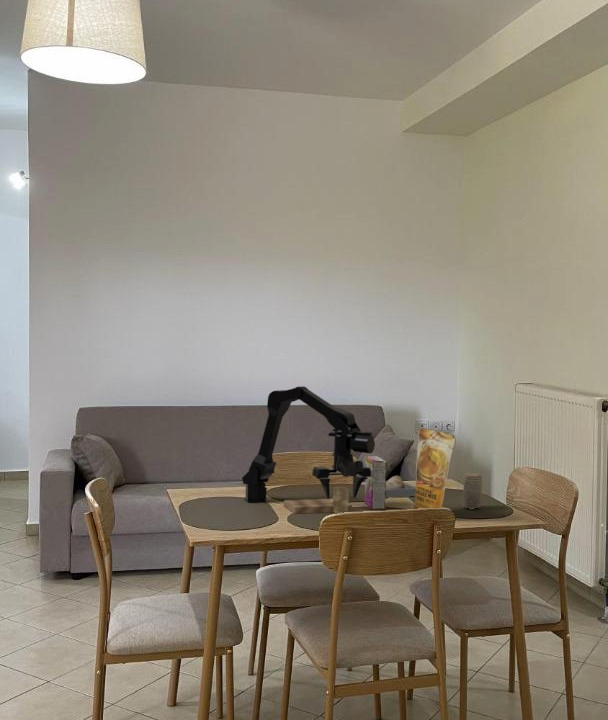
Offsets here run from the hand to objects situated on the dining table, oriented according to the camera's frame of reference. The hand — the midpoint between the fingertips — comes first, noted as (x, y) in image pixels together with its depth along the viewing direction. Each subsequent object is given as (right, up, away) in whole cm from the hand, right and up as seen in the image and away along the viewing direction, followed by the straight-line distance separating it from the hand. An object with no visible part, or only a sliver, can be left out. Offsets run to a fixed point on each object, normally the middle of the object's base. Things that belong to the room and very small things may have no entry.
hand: (341, 498), depth 273 cm
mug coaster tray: (+21, -5, +38) cm, 44 cm away
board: (-8, -5, +6) cm, 11 cm away
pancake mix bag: (+29, -6, +1) cm, 30 cm away
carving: (+45, -6, +15) cm, 48 cm away
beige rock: (+20, -5, +36) cm, 41 cm away
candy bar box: (+12, -5, +14) cm, 19 cm away
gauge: (-1, -5, +3) cm, 5 cm away
